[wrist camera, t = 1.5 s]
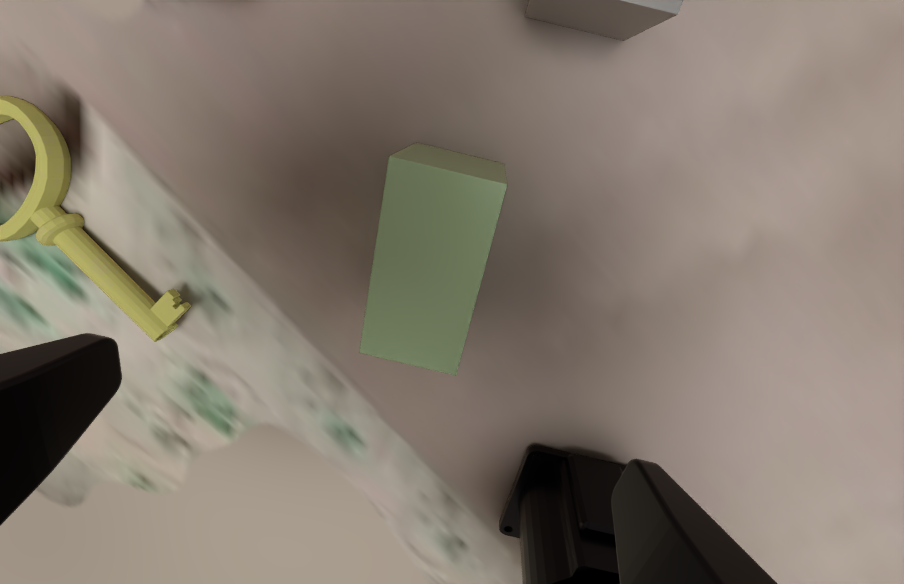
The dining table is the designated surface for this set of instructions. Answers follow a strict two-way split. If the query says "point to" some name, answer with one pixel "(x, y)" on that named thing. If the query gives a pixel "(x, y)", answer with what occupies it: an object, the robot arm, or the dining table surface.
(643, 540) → the robot arm
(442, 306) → the green brick
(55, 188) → the key
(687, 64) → the dining table surface
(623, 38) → the gray brick
